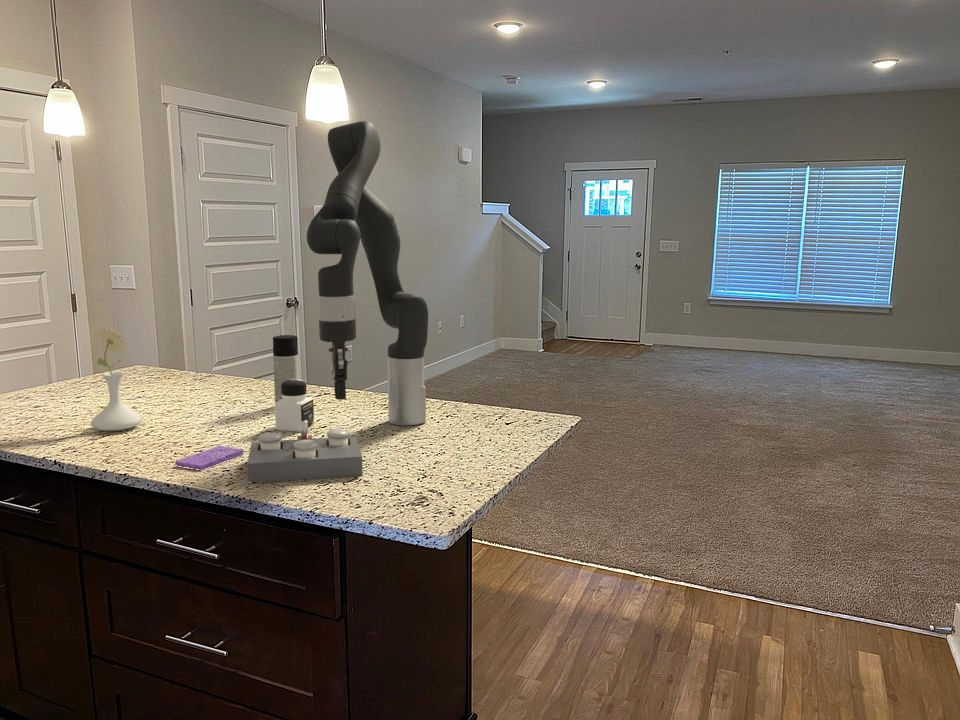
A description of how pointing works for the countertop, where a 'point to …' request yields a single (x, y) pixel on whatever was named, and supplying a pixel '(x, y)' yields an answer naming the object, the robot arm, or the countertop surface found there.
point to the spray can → (284, 361)
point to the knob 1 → (270, 441)
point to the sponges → (209, 457)
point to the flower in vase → (114, 389)
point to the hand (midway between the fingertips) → (340, 398)
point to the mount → (304, 462)
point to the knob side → (305, 448)
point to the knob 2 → (338, 437)
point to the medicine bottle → (293, 406)
